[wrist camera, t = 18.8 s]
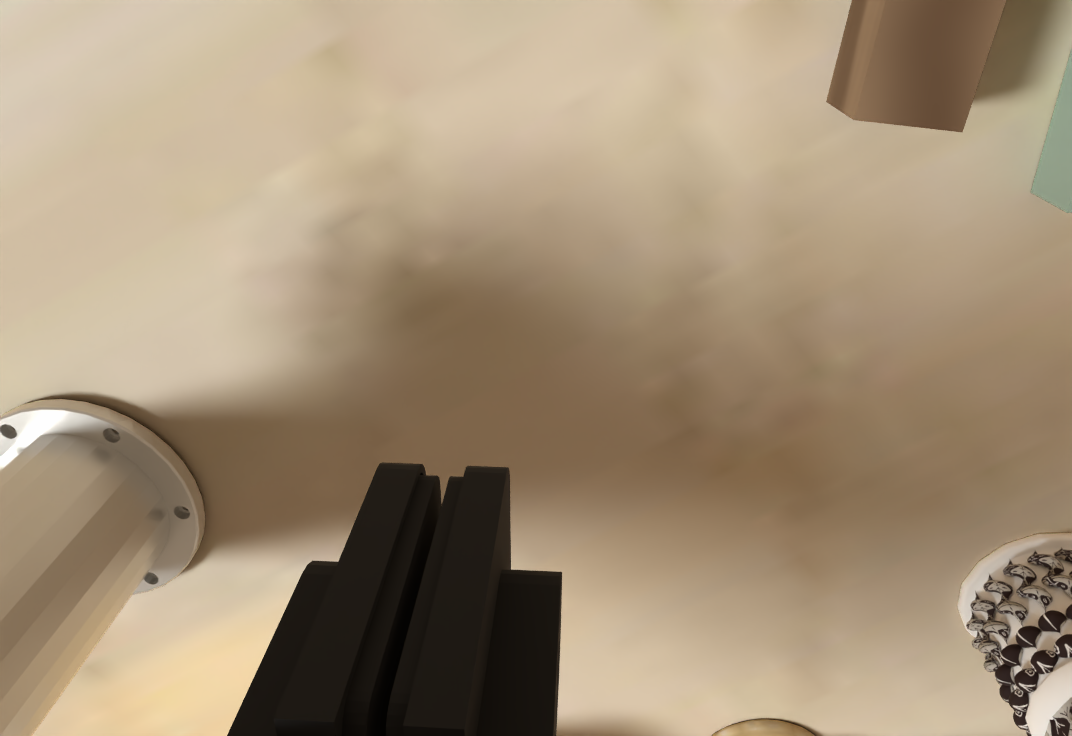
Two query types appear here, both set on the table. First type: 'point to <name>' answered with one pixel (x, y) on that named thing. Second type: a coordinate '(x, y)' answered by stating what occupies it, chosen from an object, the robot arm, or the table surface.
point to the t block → (913, 60)
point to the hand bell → (763, 729)
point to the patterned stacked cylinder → (1026, 627)
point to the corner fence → (1058, 151)
